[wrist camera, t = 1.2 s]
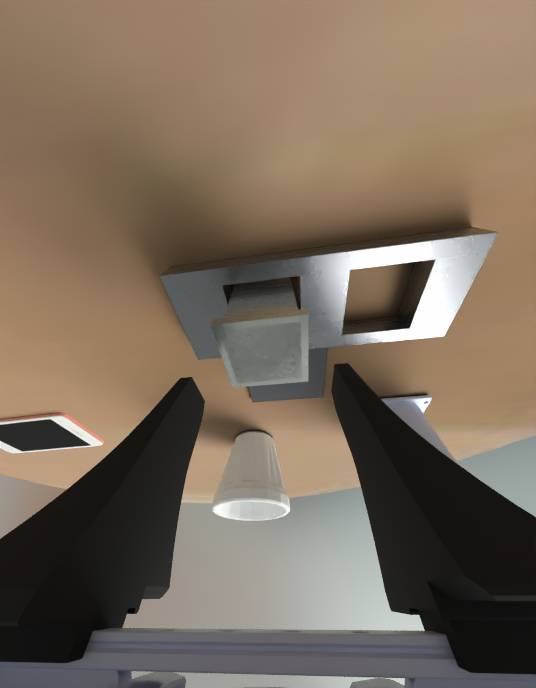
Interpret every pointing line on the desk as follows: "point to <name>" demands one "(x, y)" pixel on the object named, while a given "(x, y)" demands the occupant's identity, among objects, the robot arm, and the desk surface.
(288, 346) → the grey boxy piece
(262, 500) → the cup
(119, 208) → the desk surface
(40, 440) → the cell phone
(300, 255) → the grey flat block
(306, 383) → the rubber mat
